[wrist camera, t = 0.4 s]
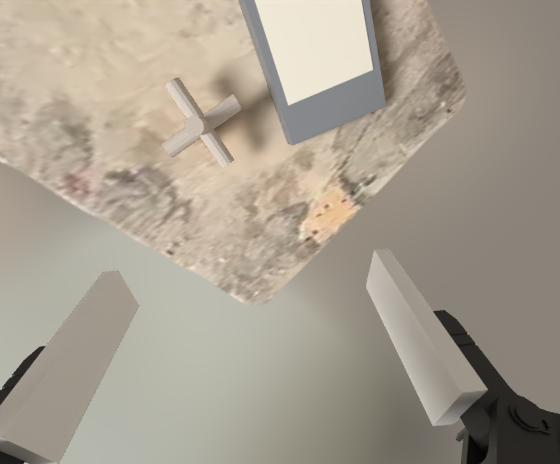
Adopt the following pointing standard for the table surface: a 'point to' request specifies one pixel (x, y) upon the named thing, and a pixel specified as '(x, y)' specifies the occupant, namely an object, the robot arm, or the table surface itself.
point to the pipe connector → (200, 123)
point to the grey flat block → (316, 61)
